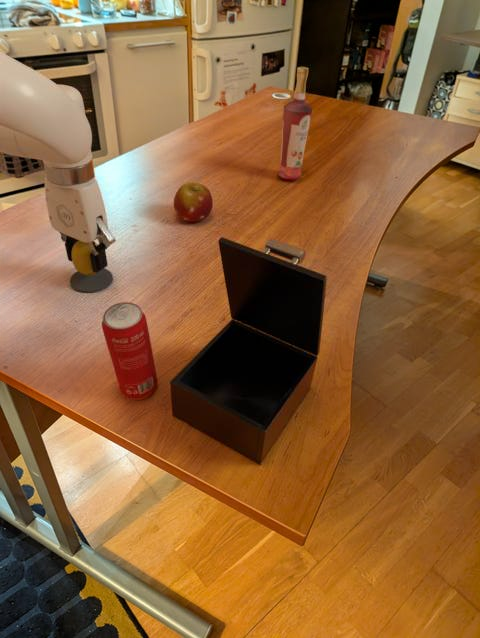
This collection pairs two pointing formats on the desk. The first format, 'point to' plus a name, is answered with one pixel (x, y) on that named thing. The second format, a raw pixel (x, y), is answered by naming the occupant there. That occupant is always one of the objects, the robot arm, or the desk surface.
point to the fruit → (193, 202)
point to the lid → (275, 292)
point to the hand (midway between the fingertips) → (88, 262)
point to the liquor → (295, 130)
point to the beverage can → (130, 349)
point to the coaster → (91, 281)
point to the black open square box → (243, 388)
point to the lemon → (82, 258)
